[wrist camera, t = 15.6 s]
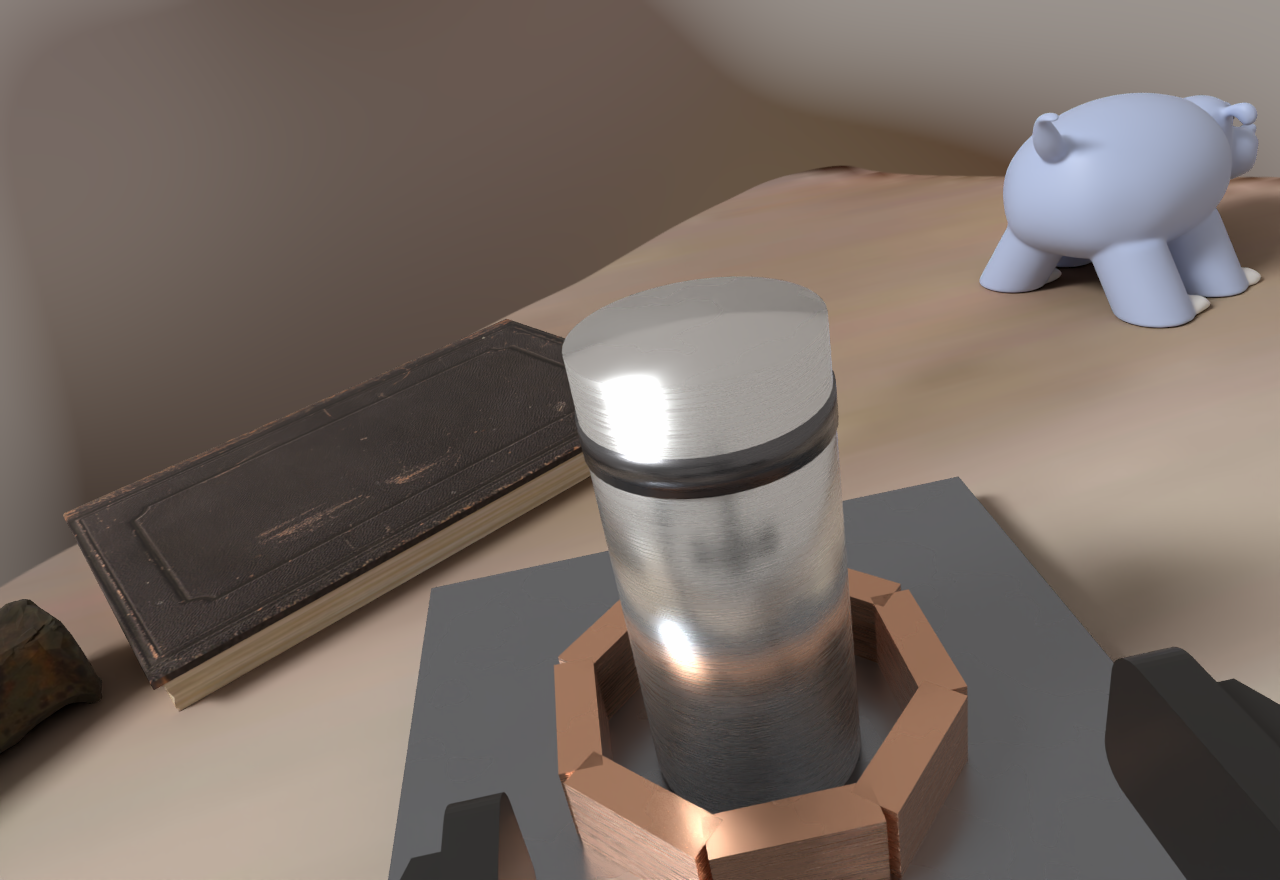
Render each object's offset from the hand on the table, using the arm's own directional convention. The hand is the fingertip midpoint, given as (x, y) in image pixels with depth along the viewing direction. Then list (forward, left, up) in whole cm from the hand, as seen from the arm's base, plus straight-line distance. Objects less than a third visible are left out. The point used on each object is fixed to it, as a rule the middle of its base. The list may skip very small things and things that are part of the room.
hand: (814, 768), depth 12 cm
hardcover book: (-12, +27, -10) cm, 31 cm away
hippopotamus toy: (+25, +33, -9) cm, 42 cm away
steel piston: (0, +8, -8) cm, 11 cm away
